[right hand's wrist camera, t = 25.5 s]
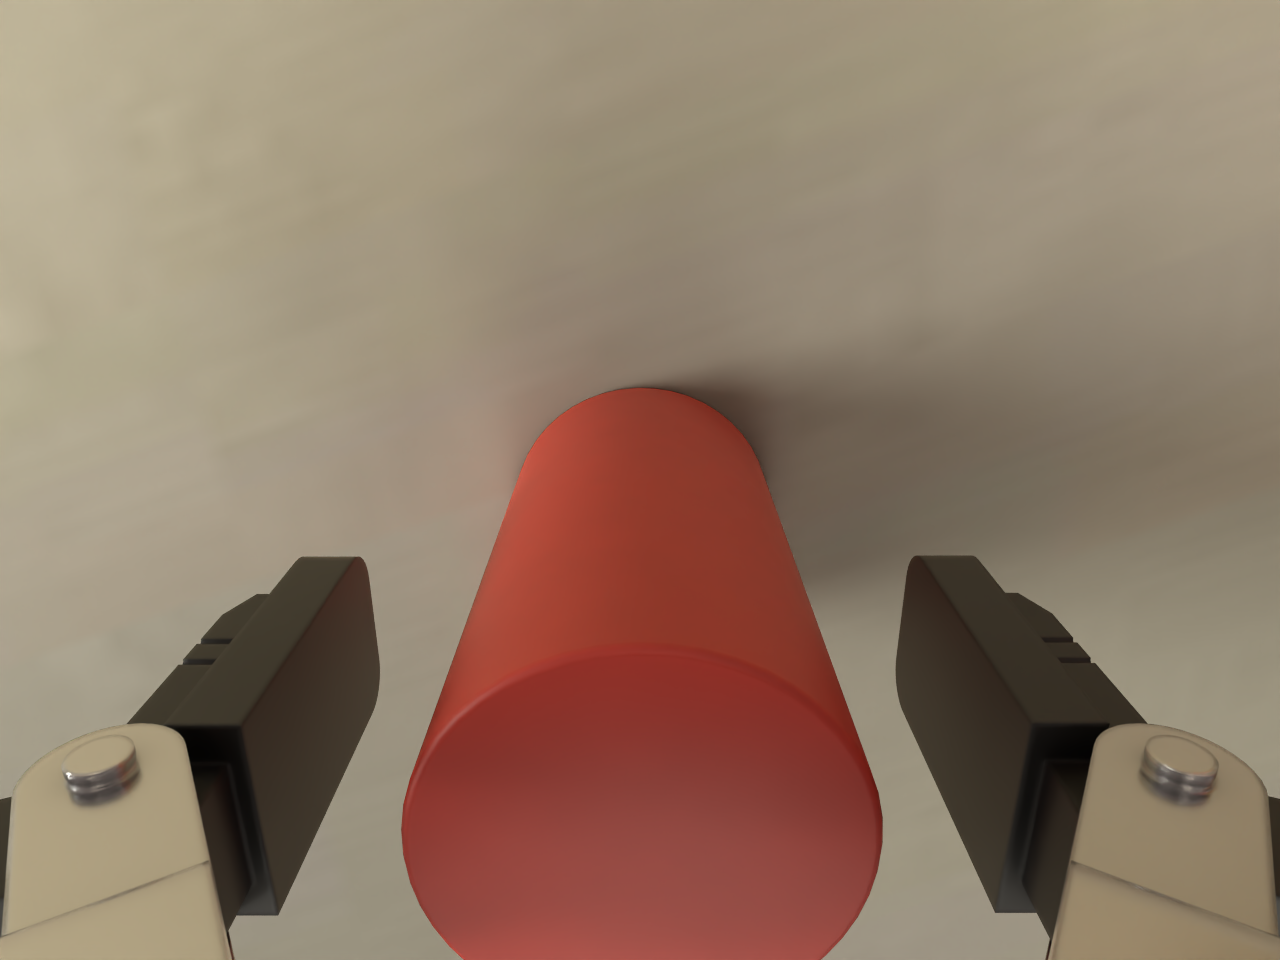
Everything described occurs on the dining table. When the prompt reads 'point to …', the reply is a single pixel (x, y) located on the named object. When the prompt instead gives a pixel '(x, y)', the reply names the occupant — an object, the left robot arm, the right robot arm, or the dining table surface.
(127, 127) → the dining table surface
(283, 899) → the right robot arm
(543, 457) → the cylinder
